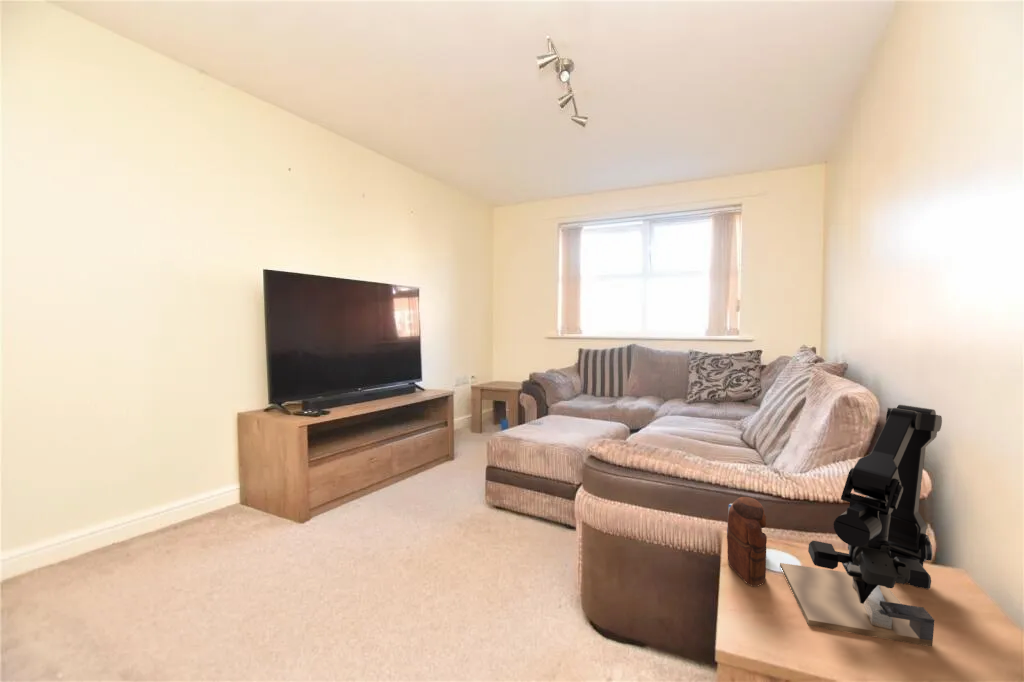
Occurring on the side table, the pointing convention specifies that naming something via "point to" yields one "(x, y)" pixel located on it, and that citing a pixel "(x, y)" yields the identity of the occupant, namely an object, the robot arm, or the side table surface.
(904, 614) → the keeper
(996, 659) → the side table surface
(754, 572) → the brown wooden carving
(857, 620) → the board
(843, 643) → the side table surface
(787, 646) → the side table surface
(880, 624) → the link
